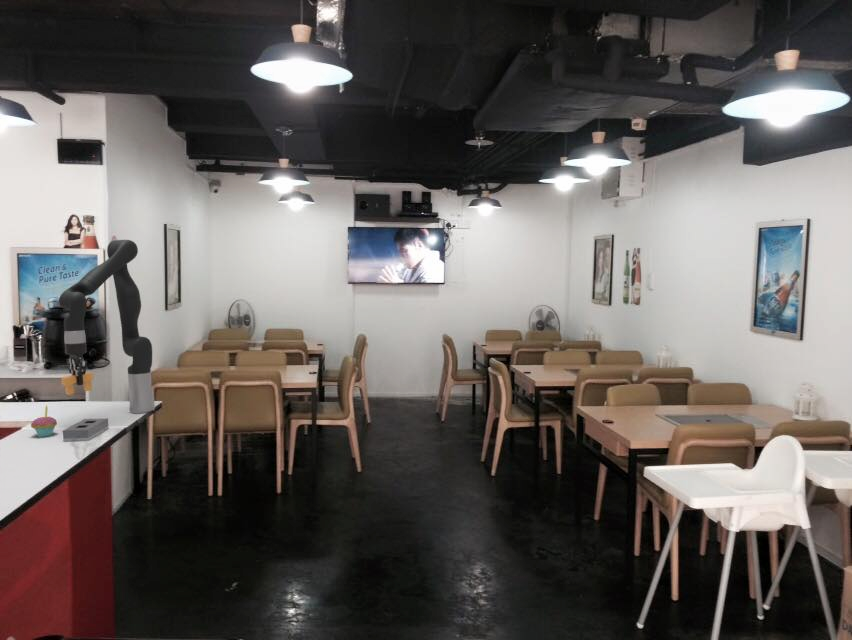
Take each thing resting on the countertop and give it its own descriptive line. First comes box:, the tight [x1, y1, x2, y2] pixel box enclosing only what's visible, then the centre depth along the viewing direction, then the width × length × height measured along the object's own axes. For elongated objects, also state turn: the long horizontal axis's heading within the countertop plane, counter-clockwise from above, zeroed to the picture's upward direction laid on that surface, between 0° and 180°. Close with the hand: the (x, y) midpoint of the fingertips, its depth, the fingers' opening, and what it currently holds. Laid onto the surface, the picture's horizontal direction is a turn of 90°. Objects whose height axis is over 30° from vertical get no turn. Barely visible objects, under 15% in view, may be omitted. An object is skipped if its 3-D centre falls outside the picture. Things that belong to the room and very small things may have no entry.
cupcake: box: [30, 404, 58, 438], centre depth 253 cm, size 9×8×12 cm
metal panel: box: [62, 418, 109, 442], centre depth 254 cm, size 18×9×4 cm, turn 4°
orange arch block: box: [60, 371, 94, 396], centre depth 265 cm, size 11×3×7 cm, turn 141°
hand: (78, 384), depth 265 cm, fingers closed on orange arch block, 3 cm apart
